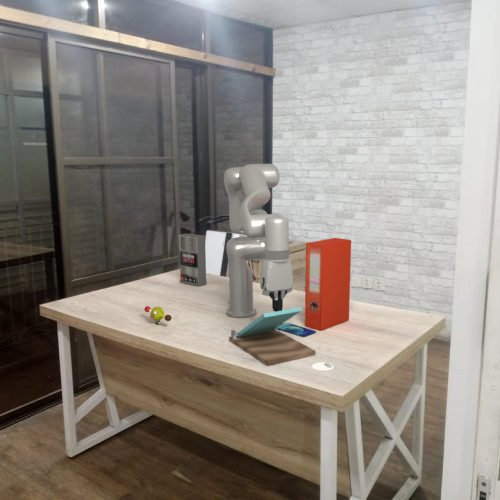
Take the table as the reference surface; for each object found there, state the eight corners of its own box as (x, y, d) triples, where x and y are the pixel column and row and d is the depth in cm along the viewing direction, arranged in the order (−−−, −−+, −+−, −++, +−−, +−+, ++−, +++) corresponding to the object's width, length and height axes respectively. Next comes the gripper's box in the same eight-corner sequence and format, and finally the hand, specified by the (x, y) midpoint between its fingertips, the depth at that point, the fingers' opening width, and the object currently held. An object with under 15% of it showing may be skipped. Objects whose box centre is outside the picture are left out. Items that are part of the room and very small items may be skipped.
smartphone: (303, 336, 185) (273, 326, 196) (303, 339, 185) (273, 329, 196) (317, 331, 190) (286, 322, 201) (317, 333, 190) (286, 324, 201)
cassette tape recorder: (179, 282, 269) (177, 234, 265) (187, 280, 274) (186, 233, 269) (198, 286, 260) (196, 237, 256) (206, 284, 265) (205, 235, 261)
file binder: (349, 321, 203) (351, 239, 197) (321, 331, 191) (322, 245, 186) (332, 316, 209) (334, 237, 203) (304, 326, 197) (305, 242, 191)
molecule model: (139, 320, 207) (139, 303, 206) (152, 317, 211) (151, 301, 210) (163, 331, 194) (162, 313, 193) (176, 327, 197) (175, 310, 196)
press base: (229, 341, 182) (229, 329, 182) (273, 332, 191) (273, 321, 190) (267, 366, 160) (267, 352, 159) (315, 355, 168) (315, 342, 168)
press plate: (236, 337, 182) (235, 334, 182) (271, 331, 188) (270, 327, 189) (264, 317, 163) (263, 313, 163) (301, 311, 169) (300, 307, 170)
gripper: (290, 251, 173) (290, 305, 176) (250, 256, 166) (251, 312, 169) (303, 254, 166) (303, 310, 169) (262, 259, 159) (263, 317, 162)
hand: (277, 311), depth 169 cm, fingers closed
